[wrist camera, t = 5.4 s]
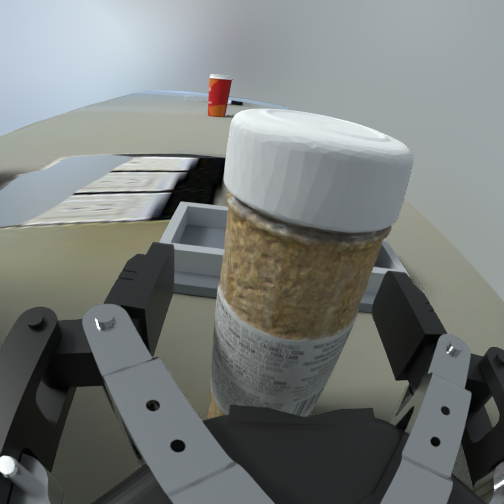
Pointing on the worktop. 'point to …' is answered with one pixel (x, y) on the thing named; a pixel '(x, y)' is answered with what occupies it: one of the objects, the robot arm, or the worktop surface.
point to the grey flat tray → (212, 249)
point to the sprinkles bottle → (297, 251)
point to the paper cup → (218, 94)
